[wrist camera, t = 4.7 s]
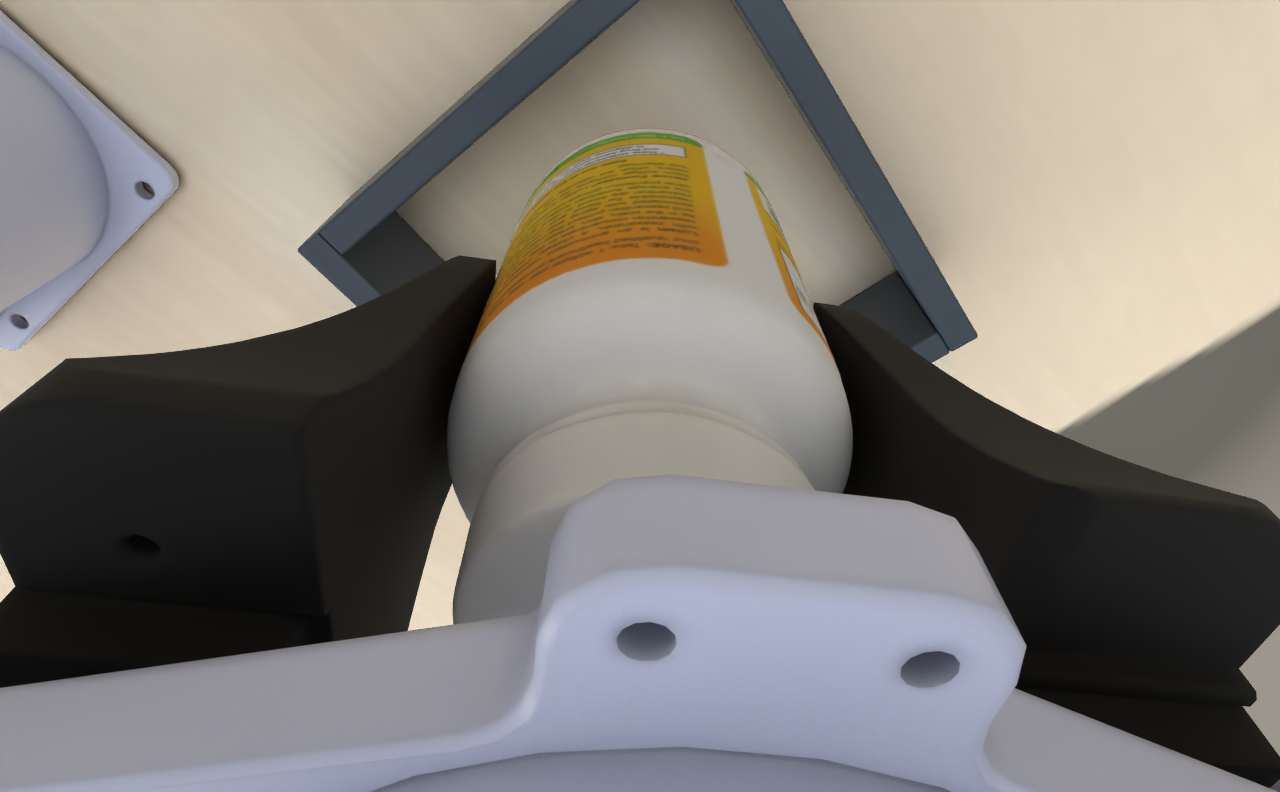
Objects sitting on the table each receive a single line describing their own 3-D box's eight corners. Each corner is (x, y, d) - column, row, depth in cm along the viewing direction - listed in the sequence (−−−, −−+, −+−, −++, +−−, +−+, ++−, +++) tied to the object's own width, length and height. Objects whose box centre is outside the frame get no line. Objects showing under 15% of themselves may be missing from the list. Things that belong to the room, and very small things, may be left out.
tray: (614, 465, 28) (609, 542, 24) (349, 198, 22) (295, 250, 19) (931, 275, 23) (979, 337, 20) (700, -117, 18) (712, -120, 14)
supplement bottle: (475, 294, 16) (301, 692, 8) (599, 63, 14) (527, 306, 5) (685, 403, 18) (716, 830, 10) (831, 215, 15) (1046, 580, 7)
